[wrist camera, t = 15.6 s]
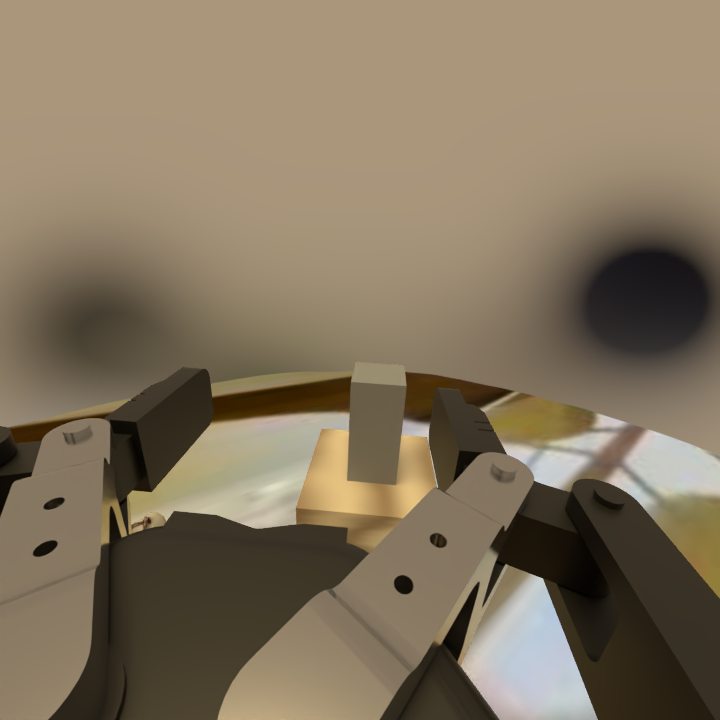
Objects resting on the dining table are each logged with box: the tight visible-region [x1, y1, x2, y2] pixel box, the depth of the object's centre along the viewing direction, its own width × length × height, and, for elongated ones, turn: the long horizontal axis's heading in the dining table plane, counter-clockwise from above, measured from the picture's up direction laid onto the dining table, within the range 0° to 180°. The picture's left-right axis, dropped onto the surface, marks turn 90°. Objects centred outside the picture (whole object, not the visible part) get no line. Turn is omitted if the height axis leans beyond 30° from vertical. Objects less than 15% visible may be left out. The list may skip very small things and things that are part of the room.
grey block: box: [347, 362, 406, 485], centre depth 32 cm, size 4×4×10 cm
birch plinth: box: [296, 429, 436, 553], centre depth 34 cm, size 12×12×5 cm
